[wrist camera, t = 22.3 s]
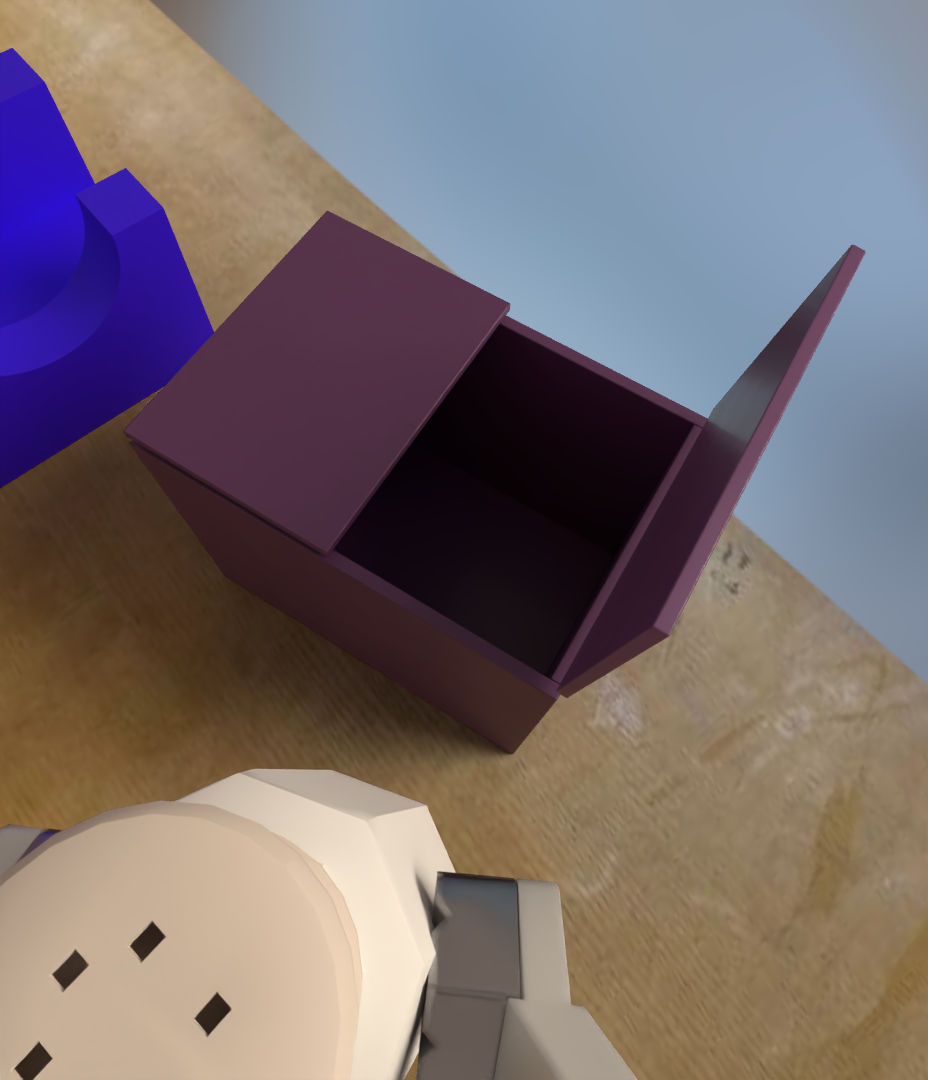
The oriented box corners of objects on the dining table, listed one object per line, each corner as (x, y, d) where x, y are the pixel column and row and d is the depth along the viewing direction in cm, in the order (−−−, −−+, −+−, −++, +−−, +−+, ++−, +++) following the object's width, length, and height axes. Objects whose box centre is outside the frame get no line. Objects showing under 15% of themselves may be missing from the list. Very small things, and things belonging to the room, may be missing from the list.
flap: (713, 408, 27) (723, 413, 27) (555, 691, 23) (566, 698, 23) (853, 242, 19) (867, 250, 19) (651, 626, 15) (669, 636, 15)
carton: (624, 555, 40) (720, 408, 27) (512, 755, 36) (560, 695, 23) (357, 407, 43) (326, 208, 30) (224, 576, 39) (119, 430, 26)
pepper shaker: (130, 927, 15) (-553, 1088, 4) (333, 716, 16) (179, 481, 6) (328, 1157, 13) (15, 2115, 3) (525, 902, 15) (733, 994, 5)
